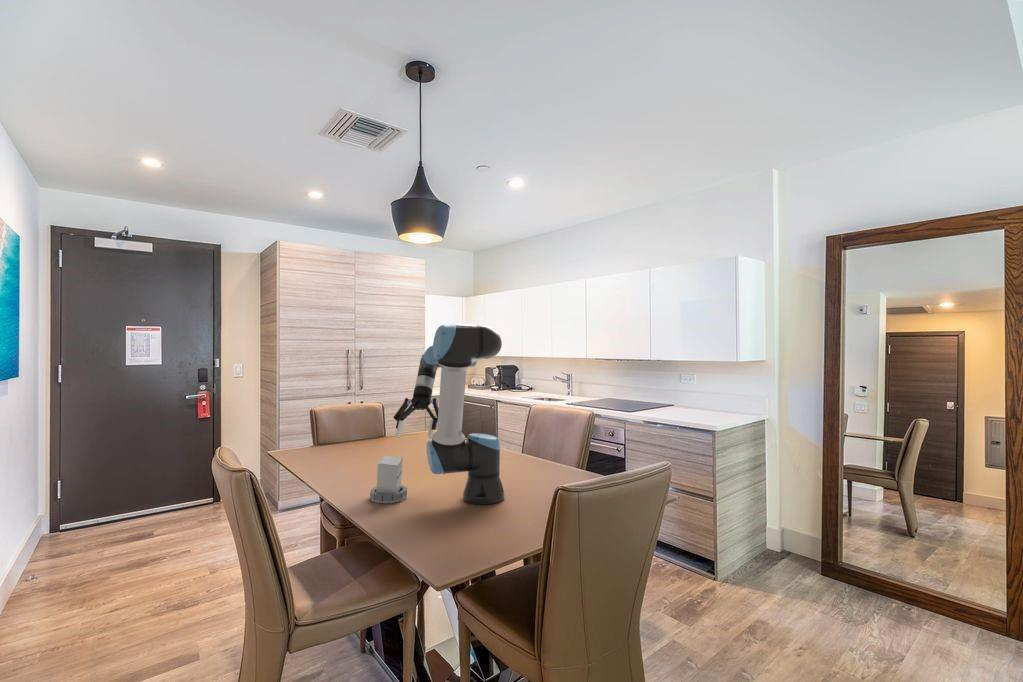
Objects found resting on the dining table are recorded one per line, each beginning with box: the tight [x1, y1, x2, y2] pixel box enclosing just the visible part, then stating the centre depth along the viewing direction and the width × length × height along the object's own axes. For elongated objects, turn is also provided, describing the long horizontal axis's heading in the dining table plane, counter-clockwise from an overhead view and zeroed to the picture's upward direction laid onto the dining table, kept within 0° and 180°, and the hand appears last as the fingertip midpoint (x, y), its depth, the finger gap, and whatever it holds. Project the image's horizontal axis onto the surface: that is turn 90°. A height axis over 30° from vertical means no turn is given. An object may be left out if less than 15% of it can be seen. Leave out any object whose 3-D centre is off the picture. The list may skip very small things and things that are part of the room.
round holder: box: [369, 484, 408, 504], centre depth 176 cm, size 13×13×3 cm
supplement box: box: [376, 455, 404, 494], centre depth 175 cm, size 7×7×13 cm
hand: (413, 437), depth 190 cm, fingers open, 13 cm apart
